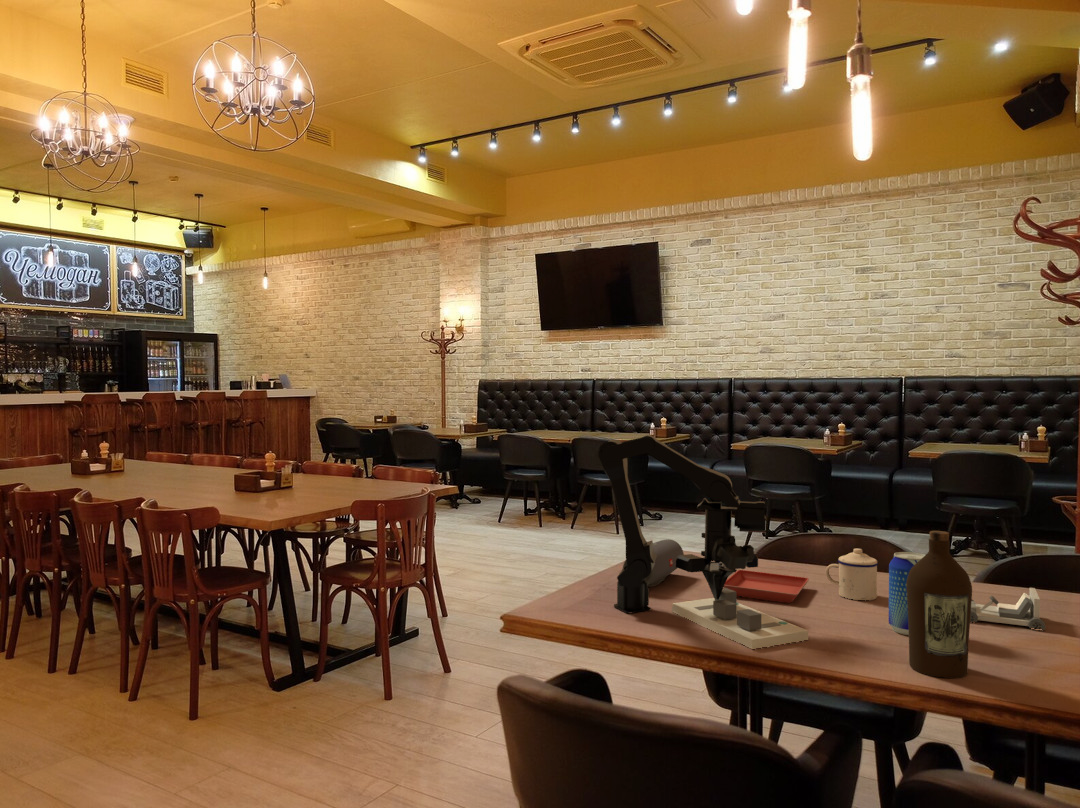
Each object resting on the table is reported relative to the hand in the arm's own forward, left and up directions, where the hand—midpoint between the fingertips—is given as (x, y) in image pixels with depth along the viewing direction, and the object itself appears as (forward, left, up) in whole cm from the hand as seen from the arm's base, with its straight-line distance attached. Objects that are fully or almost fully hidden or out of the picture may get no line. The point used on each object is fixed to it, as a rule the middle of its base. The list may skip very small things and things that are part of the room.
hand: (716, 599), depth 175 cm
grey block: (+3, 0, -1) cm, 3 cm away
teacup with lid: (+40, 0, -4) cm, 40 cm away
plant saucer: (+23, +11, -4) cm, 26 cm away
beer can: (+30, -26, -4) cm, 40 cm away
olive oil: (+16, -44, -4) cm, 47 cm away
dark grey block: (-4, -16, -1) cm, 16 cm away
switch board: (-1, -8, -4) cm, 9 cm away
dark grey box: (-4, -8, -1) cm, 9 cm away
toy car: (+55, -27, -4) cm, 61 cm away
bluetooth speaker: (+3, +31, -4) cm, 31 cm away
